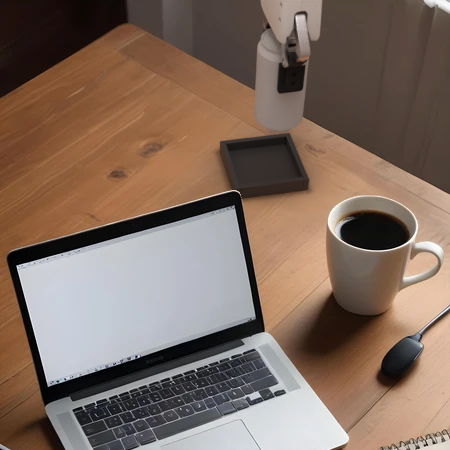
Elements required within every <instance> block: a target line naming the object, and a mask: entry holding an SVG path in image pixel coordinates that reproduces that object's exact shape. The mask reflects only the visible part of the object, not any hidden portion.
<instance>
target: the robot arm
mask: <svg viewBox="0 0 450 450" xmlns="http://www.w3.org/2000/svg"><path fill="white" fill-rule="evenodd" d="M260 6H261V9H262V11H263V13H264V16H263V19H262V20H263V21H262V22H263V23H262V24H263V28H264V29H263V30H262V33H263V32H264V31H266V30H267V29H269V28H272V30H273V32H274V34H275V36H276V38H277V40H278V41H279V42H280V43H281V52H282V63H279V68H278V81H277V91H278V93H279V94H282V93H290V92H298V91H302V90H303V86H304V76H305V67H306V64H307V59H308V58H309V59H310V57H311V55H312V53H311V44H310V41H311V42H317V41H318V40H319V38H320V36H321V27H322V26H321V24H322V11H323V0H260ZM291 33H295V37H292V38H287V37H289V36H290V34H291ZM291 44H296V50H295V52H292V53H291V54H290V55H289V53H288V45H291Z"/></svg>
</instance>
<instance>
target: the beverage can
mask: <svg viewBox="0 0 450 450" xmlns="http://www.w3.org/2000/svg"><path fill="white" fill-rule="evenodd" d="M265 30H266V31H264V32H263V31H262V33H261V35H260V40H259V42H258V43H257V46H256V48H257V49H256V64H255V65H256V67H255V68H256V69H255V87H254V104H253V106H254V108H253V117H254V120H255V121H256V123H257V124H258V125H259V126H260V127H263V128H264V129H266V130H269V131H271V132H275V133H284V132H285V133H286V132H289V131H291V130H293V129H294V128H296V127H298V126H299V125H300V124H301V123H302V121H303V118H304V109H305V99H306V89H307V81H308V80H307V79H308V70H309V61H310V57H309V58H308V59H307V64H306V67H305V76H304V86H303V90H302V91H298V92H290V93H282V94H279V93H278V91H277V81H278V68H279V63H282V52H281V43H280V42H279V41H278V40H277V38H276V36H275V34H274V32H273V30H272V28H269V29H265ZM292 37H295V33H291V34H290V36H289V37H287V38H292ZM295 50H296V44H291V45H288V53H289V55H290V54H291V53H292V52H295Z"/></svg>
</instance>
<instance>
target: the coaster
mask: <svg viewBox="0 0 450 450" xmlns="http://www.w3.org/2000/svg"><path fill="white" fill-rule="evenodd" d="M219 154H220V157H221V160H222V163H223V166H224V169H225V172H226V175H227V179H228V182H229V185H230V188H231V191H232V190H237V191H239V192H240V194H241V197H242V199H249V198H257V197H265V196H272V195H281V194H286V193H295V192H302V191H308V190H309V183H310V177H309V175H308V173H307V171H306V168H305V165H304V163H303V161H302V159H301V156H300V154H299V152H298V148H297V146H296V144H295V142H294V139H293V137H292V135H291V133H290V132H285V133H284V132H282V133H275V134H269V135H268V134H267V135H260V136H259V135H258V136H251V137H243V138H235V139H234V138H233V139H226V140H219Z"/></svg>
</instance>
